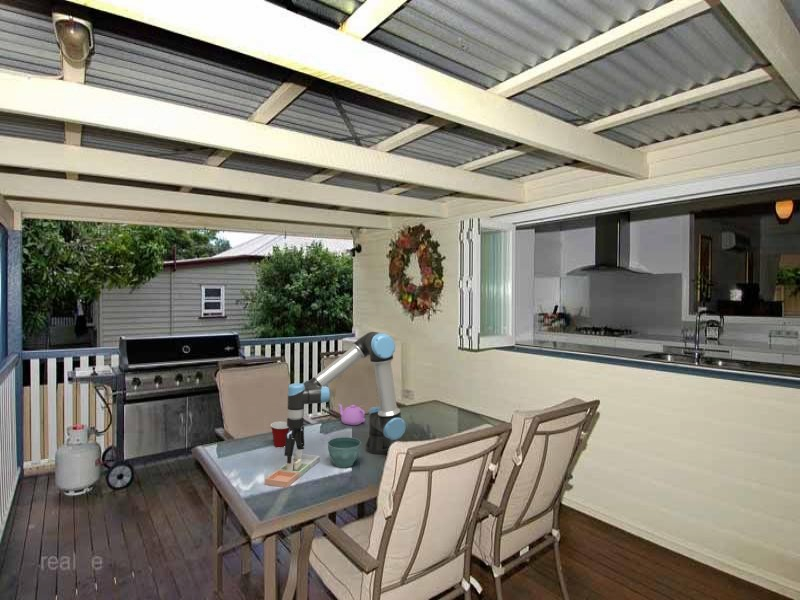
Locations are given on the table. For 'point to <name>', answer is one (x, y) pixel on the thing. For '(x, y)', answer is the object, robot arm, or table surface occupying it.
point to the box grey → (310, 459)
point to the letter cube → (297, 464)
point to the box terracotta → (281, 478)
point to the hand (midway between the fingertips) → (294, 466)
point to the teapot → (352, 415)
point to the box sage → (303, 470)
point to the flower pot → (344, 451)
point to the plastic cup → (279, 433)
